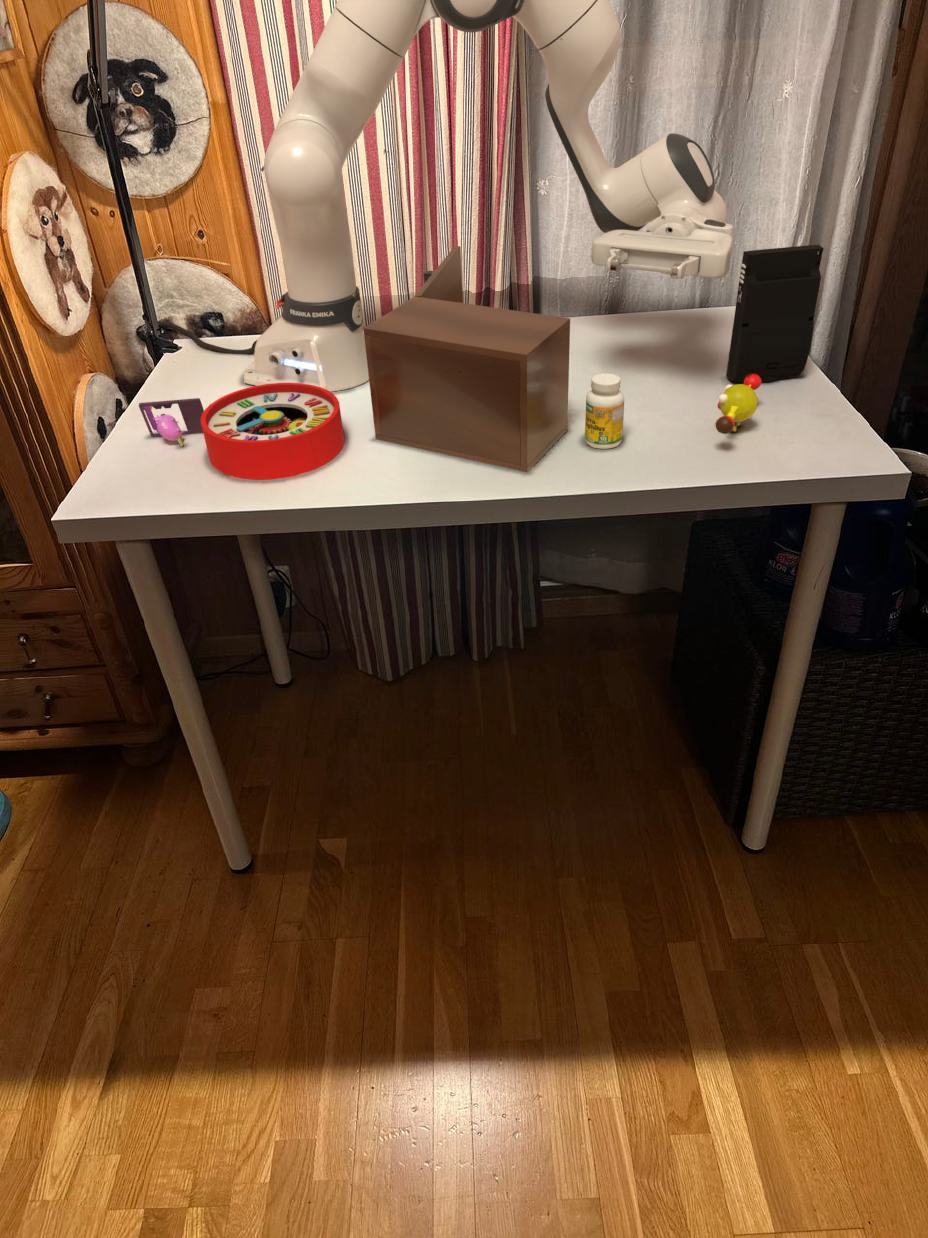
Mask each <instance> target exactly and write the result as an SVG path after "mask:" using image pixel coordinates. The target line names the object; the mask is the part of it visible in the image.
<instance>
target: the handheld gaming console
mask: <svg viewBox="0 0 928 1238" xmlns="http://www.w3.org/2000/svg"><path fill="white" fill-rule="evenodd" d="M823 252H824V247H823V246H821V245H820V244H809V245H799V246H797V245H795V246H787V247H774V248H763V249H754V250H753V249H752V250H745V251H743V253H742V260H741V267H740V273H739V280H738V288H737V296H736V302H735V309H734V316H733V323H732V331H731V337H730V345H729V351H728V358H727V359H728V360H727V366H726V373H725V377H726V378H727V379H728V380H729V381H731V382H734V383H739V384H744V380H745V377H746V376H747V375H749V374H757V375H759V376H760V377H761V380H762V382H761V383H771V382H775V381H778V380H779V381H780V380H788V379H791V378H794V377H797V376H800V375H801V374H802V373H803V372H804V371H805V369H806V365H807V363H808V360H809V355H810V352H811V347H812V342H813V334H814V324H815V320H814V318H815V317H816V315H815V313H816V308H817V303H818V299H819V298H818V296H819V292H820V287H821V281H822V274H821V270H820V267H821V263H822V257H823Z"/></svg>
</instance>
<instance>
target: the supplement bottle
mask: <svg viewBox="0 0 928 1238" xmlns="http://www.w3.org/2000/svg"><path fill="white" fill-rule="evenodd" d="M590 387H591V390H589V391H588V392H587V394H586V397H585V418H584V420H585V422H584V423H585V424H584V441H585V443H586V444H587V445H588V446H589V447H592V448H594V449H600V450H601V449H603V450H609V449H613V448H616V447H618V446H619V445H621V443H622V441H623V431H624V430H623V429H624V415H625V414H624V412H625V395H624V393H623V392H622V390H620V389H621V378H620V376H619V375H617V374H614V373H598V374H595V375H593V376H592V377H591V383H590Z"/></svg>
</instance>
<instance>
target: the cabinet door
mask: <svg viewBox="0 0 928 1238" xmlns="http://www.w3.org/2000/svg"><path fill="white" fill-rule="evenodd" d="M422 272H423V273H422V275H423V276H422V277H423V284H422V286H421V287H420V288H419V290H417V292H416V293H415V294H414V297H415V296H416V297H423V298H430V299H437V300H444V301H451V302H458V303H464V296H463V295H464V294H463V273H462V272H463V270H462V252H461V246H460V245H454V246H453V247H452V249H451V250H450V251H449V253H448V254H447V255H446V257H444V258H443V260H442V261H441V263H440V264H439V265H438V266H437V268H436V269H435V270H425V271H422Z"/></svg>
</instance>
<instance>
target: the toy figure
mask: <svg viewBox="0 0 928 1238" xmlns="http://www.w3.org/2000/svg"><path fill="white" fill-rule="evenodd" d="M762 383H763V382H762V380H761V377H760V376H759V375H757V374H749V375H747V376H746V377H745V380H744V383H738V384H737V383H736V384H726V386H725V388H724V391H723V393H721V394H719V396H718V402H717V406H716V407H717V409H718V410H719V411H721V414H722V415H723V416H720V417H719V418H718V419H717V420H716V422H715V429H716V430H717V432H718V433H720V434H722V435H723V434H724V435H727V434H730V433H735V434H736V433H737V429H738V428H740V426H741V422H744V421H746V420H748V419H750V418H751V417H752V416H753V415H754V413H755V412H756V410H757V409H758V403H759V400H758V395H757V393H756V392H755V391H756V390H757V389H759V388H760V386H761V385H762Z"/></svg>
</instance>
